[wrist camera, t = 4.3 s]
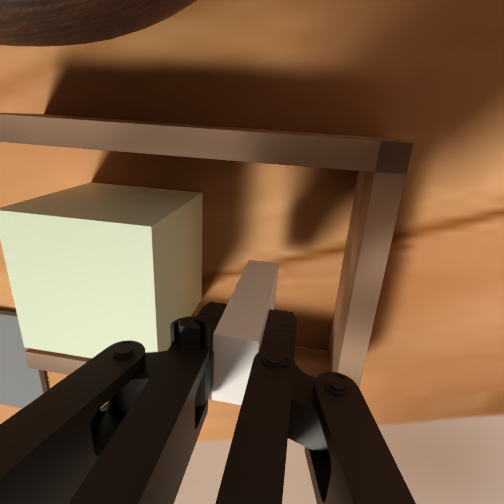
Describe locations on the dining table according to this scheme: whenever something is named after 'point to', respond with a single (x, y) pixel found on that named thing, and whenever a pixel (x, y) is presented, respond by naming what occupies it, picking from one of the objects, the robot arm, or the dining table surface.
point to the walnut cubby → (272, 152)
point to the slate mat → (16, 366)
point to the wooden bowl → (79, 19)
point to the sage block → (103, 266)
